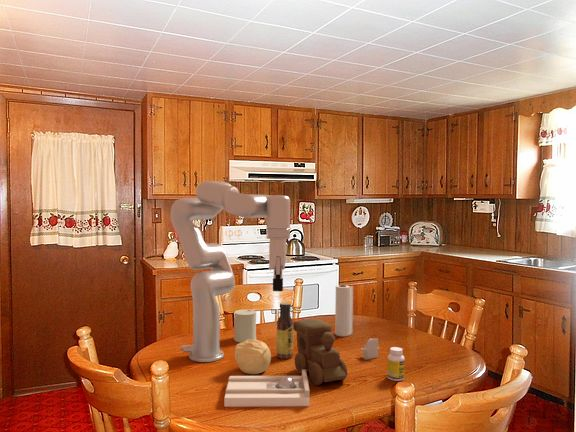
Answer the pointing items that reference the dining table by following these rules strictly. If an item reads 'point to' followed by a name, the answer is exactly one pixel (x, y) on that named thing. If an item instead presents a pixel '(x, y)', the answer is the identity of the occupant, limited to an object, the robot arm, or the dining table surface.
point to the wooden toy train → (318, 352)
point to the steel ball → (286, 383)
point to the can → (245, 325)
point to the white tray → (266, 391)
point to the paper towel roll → (344, 310)
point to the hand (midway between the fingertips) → (277, 290)
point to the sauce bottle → (284, 332)
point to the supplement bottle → (395, 364)
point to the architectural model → (370, 349)
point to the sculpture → (252, 356)
